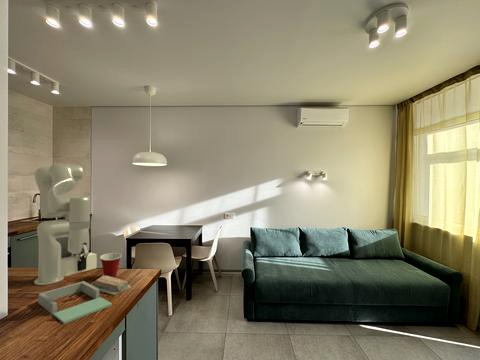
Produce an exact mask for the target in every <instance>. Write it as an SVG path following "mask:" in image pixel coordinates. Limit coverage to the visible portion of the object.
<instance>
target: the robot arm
mask: <svg viewBox="0 0 480 360" xmlns="http://www.w3.org/2000/svg"><path fill="white" fill-rule="evenodd" d="M84 174H85V173H84V169H83V167H82V166H81V165H80V164H76V163H61V162H58V163H54V164H51V165H50V166H42V167H39V168H37V169H36V170H35V173H34V180H35V183H36V185H37V188H38V191H39V206H40V208H39V209H40V210H39V211H40V216H41V217H42V218H45V219H54V218H55V220H46V221H43V222H42V221H41V222H40V223H39V224H38V225H37V227H36V234H37V238H38V239H37V241H38V271H37V278H36V279H35V280H34V281H33V283H34V285H37V286H46V285H52V284H56V283H59V282H61V281H63V280H64V279H65V276H64V275H62V274H60V259H62V245H61V243H60V242H59V241H57V239H61V238H67V252H69V253H70V254H71V255H70V257H72V256H77V255H78V259H79V261H78V266H77V270H78V271H81V270H85V269H86V260H87V256H88V254H89V253H90V252H89V251H90V231H89V229H90V227H91V199H90V197H88V196H86V195H85V196H84V195H64V194H68V193H70V192H71V191H73V190H74V189H75V187H76V183H77V182H80V181H81V180H83V177H84ZM57 218H65V219H57ZM82 254H83V255H82ZM81 255H82V256H81Z"/></svg>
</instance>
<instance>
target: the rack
mask: <svg viewBox="0 0 480 360" xmlns="http://www.w3.org/2000/svg"><path fill="white" fill-rule="evenodd" d="M92 285H93V284H90V283H89V282H87V281H84V280H82V281H79V282H75V283H72V284H68V285H64V286H62V287H57V288H55V289H51V290H48V291H44V292H41V293H38V301H37V302H38V304H39V305H40V306H41V307H43V309H45V310H46V311H47V312H49V313H50V314H51V315H53V313H56V312H58V303H57V302H56V301H55V300H58V299H60V298H64V297H68V296H70V295H74V294H77V293H80V292H82V293H84V294H86V295H87V296H89V297H91V298H92V299H96V298H99V297H100V292H101V291H100V289H98V288H96V287H94V286H92Z"/></svg>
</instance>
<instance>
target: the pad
mask: <svg viewBox="0 0 480 360" xmlns="http://www.w3.org/2000/svg"><path fill="white" fill-rule="evenodd" d="M112 305H113V303H112V302H110V301H108V300H107V299H105V298H103V297H102V296H99V298H96V299H94V298H92V300H88V301H85V302H82V303H79V304H77V305H74V306H70V307H67V308H65V309H62V310H60V311H59V310H58V311H57V312H56V313H53V317H54V318H56V319H57V320H59V322H61V323H62V324H63V325H64V324H65V325H66V324H68V323H70V322H73V321H75V320H78V319H81V318H83V317H85V316H88V315H91V314H94V313H96V312H98V311H101V310H103V309H106V308H109V307H110V306H112ZM90 313H91V314H90Z"/></svg>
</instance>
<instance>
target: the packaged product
mask: <svg viewBox="0 0 480 360" xmlns="http://www.w3.org/2000/svg"><path fill="white" fill-rule="evenodd" d="M91 285H92V286H94V287H96V288H98V289H100V292H102V293H104V292H105V294H109V295H112V296H116V295H118V294H121V293H122V292H125V291H127V290H129V289H131V287H132V286H131V285H129V282H128V280H124V279H122V278H121V279H120V278H117V277H115V278H114V277H110V276H104V275H102V276H100V277H99V278H97V279H96V280H95V281H94V284H91Z"/></svg>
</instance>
